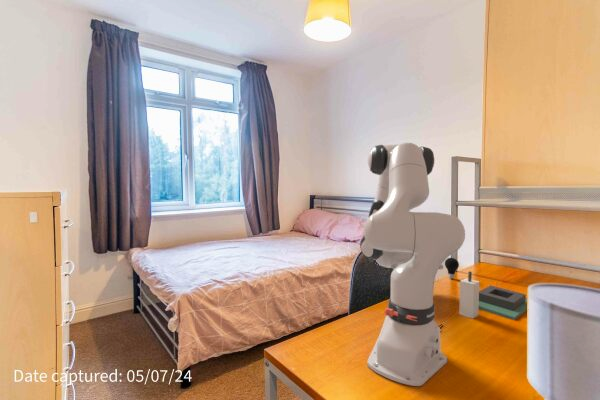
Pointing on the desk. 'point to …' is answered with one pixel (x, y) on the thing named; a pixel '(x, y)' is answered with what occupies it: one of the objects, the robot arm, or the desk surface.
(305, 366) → the desk surface
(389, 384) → the desk surface
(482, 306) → the board
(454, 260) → the light bulb
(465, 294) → the plug
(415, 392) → the desk surface
